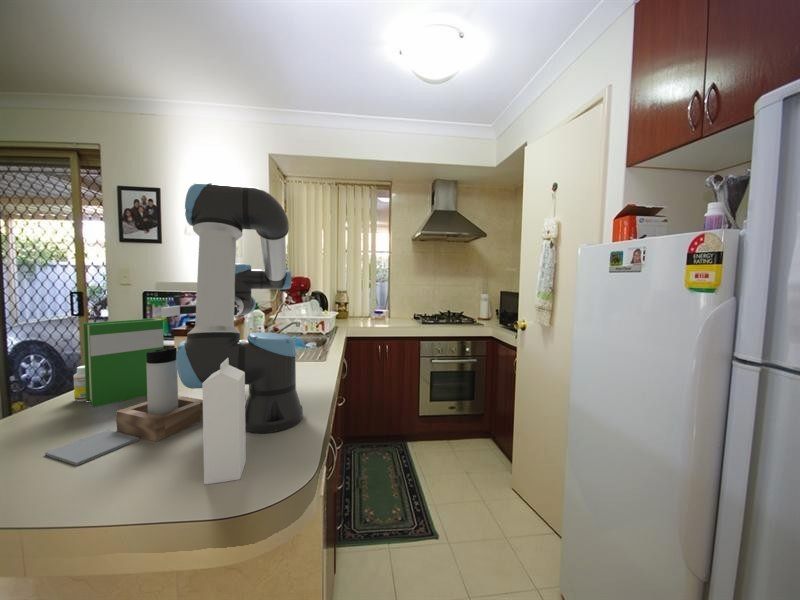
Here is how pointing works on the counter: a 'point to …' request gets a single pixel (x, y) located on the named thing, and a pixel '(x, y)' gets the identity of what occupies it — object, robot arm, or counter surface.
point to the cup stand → (159, 419)
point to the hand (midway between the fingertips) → (186, 312)
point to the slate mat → (91, 447)
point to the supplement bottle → (80, 384)
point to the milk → (224, 424)
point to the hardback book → (119, 358)
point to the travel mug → (162, 381)
